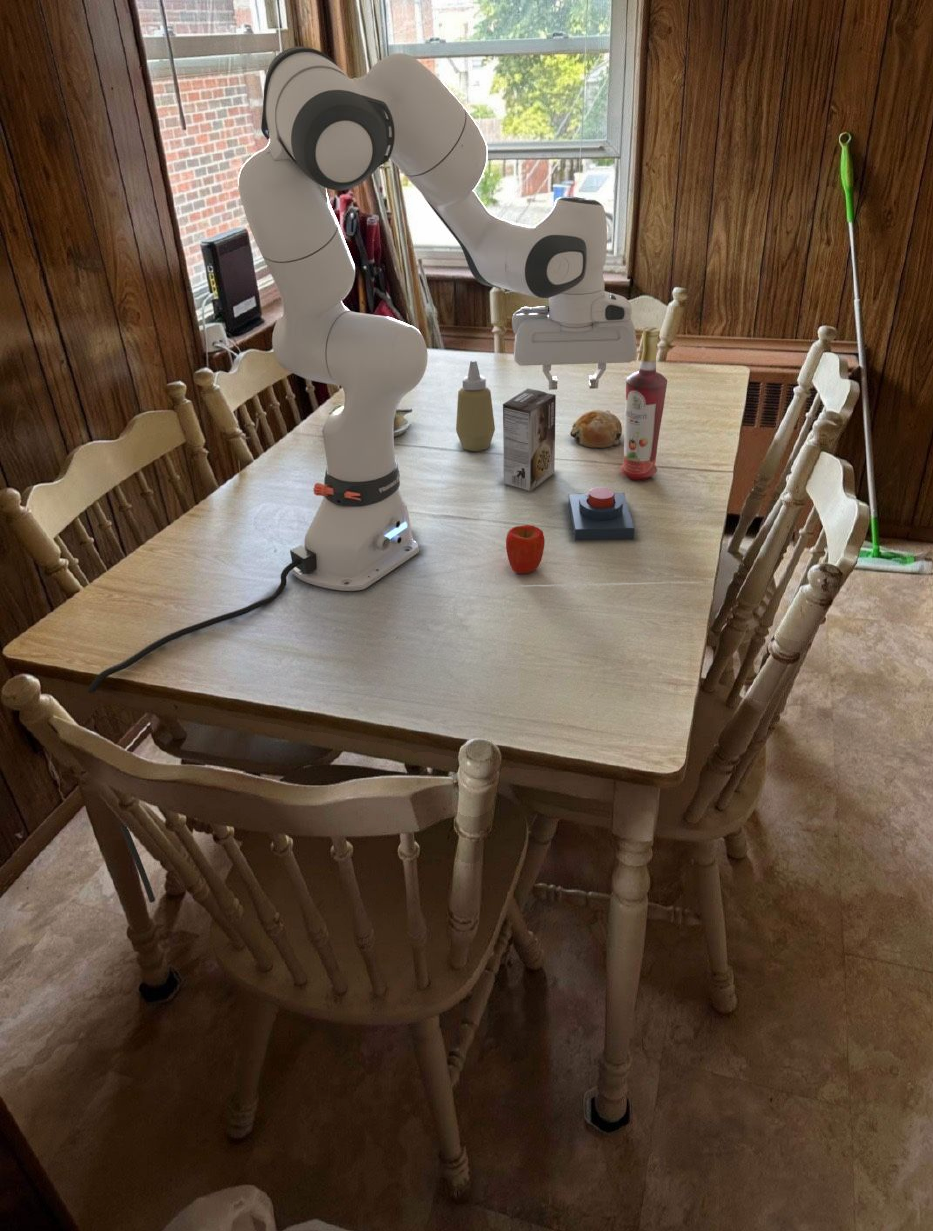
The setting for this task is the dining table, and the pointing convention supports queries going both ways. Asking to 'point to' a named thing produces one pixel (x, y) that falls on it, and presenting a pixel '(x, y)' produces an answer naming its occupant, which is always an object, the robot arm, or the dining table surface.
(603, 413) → the bread roll
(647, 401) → the liquor
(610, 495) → the lid button
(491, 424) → the squeeze bottle
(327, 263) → the robot arm
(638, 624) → the dining table surface
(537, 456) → the coffee box
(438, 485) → the dining table surface
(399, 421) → the salad plate
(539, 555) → the apple
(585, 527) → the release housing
